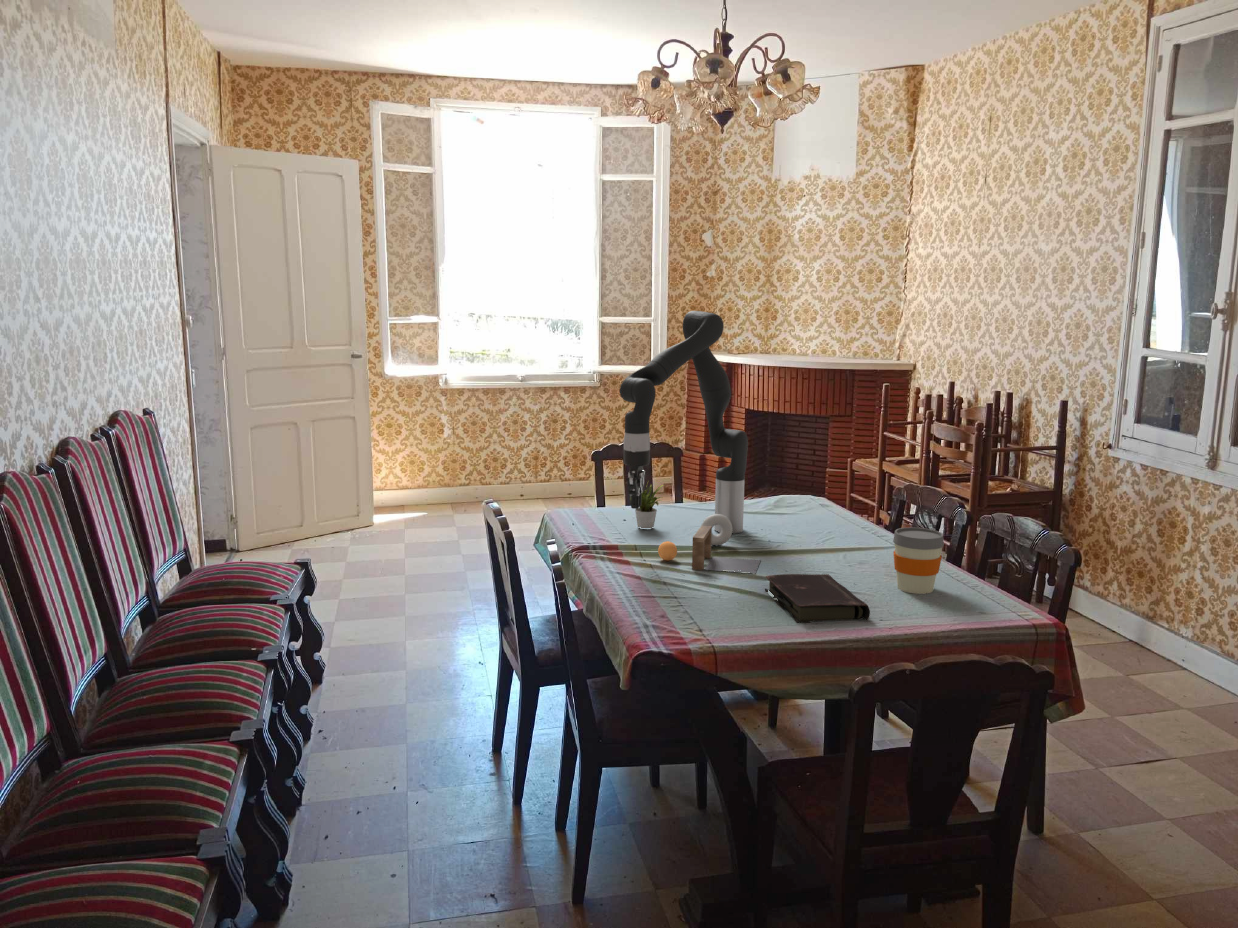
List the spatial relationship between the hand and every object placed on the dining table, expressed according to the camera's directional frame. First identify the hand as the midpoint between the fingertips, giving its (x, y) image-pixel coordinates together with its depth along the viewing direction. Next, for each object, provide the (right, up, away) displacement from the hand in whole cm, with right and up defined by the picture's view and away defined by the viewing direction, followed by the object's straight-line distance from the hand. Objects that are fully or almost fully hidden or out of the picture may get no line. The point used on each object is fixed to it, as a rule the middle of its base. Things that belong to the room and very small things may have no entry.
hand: (636, 507), depth 269 cm
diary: (+43, -23, -38) cm, 62 cm away
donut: (+25, -13, +17) cm, 32 cm away
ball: (+9, -13, 0) cm, 16 cm away
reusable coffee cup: (+73, -20, -24) cm, 79 cm away
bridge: (+19, -16, -2) cm, 25 cm away
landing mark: (+27, -16, -5) cm, 32 cm away
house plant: (+3, -9, +38) cm, 39 cm away
